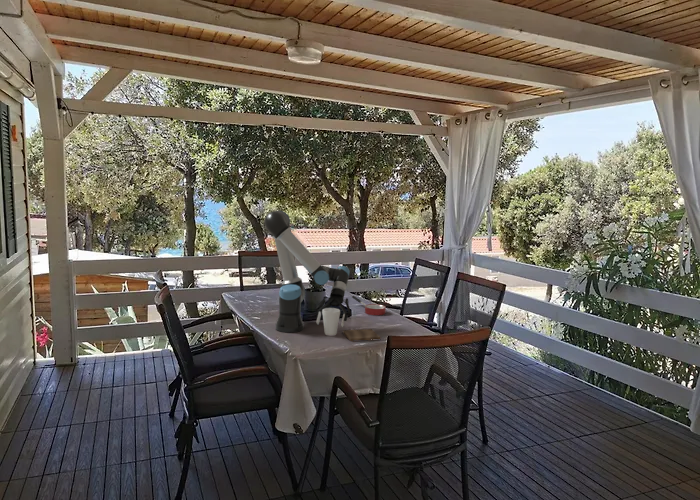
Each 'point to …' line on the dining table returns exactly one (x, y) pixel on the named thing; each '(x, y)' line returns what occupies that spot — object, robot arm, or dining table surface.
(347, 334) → the walnut board
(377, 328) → the dining table surface
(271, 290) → the dining table surface
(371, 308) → the frying pan
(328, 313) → the foam cup
